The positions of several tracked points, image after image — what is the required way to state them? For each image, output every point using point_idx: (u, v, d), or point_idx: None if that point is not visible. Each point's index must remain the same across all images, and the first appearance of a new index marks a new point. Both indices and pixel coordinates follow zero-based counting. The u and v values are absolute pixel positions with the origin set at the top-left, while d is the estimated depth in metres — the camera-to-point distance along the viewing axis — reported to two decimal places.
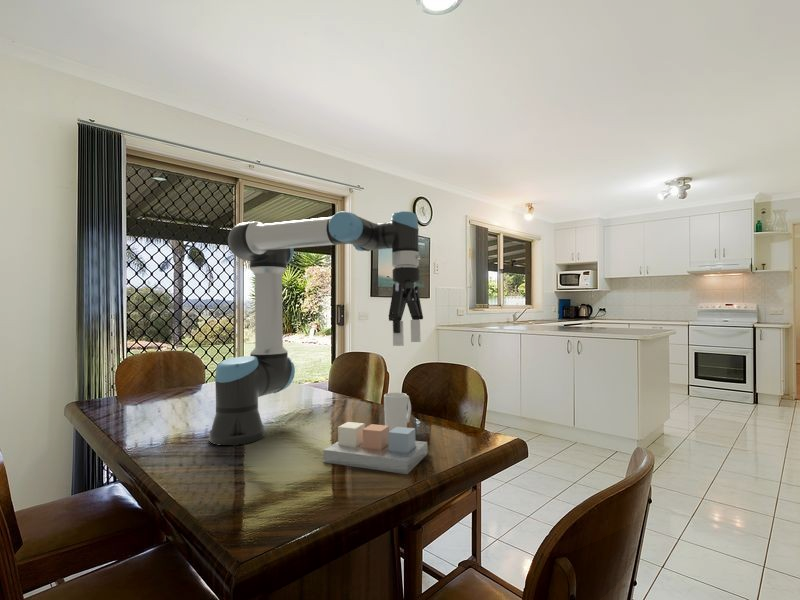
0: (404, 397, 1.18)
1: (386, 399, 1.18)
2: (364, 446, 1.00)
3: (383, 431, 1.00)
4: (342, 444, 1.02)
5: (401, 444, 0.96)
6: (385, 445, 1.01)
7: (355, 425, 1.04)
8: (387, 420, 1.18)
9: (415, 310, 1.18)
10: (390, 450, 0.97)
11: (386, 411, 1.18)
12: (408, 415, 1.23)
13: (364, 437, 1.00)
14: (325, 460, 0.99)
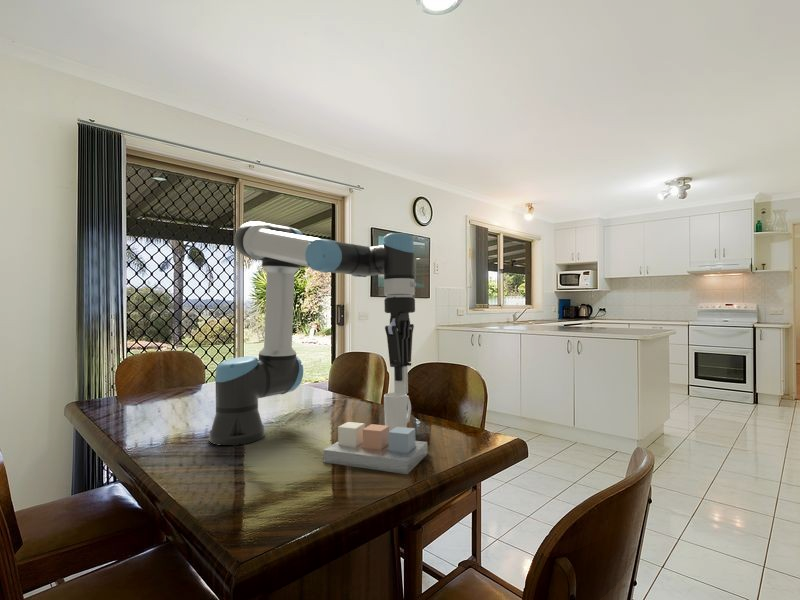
0: (404, 397, 1.18)
1: (386, 399, 1.18)
2: (364, 446, 1.00)
3: (383, 431, 1.00)
4: (342, 444, 1.02)
5: (401, 444, 0.96)
6: (385, 445, 1.01)
7: (355, 425, 1.04)
8: (387, 420, 1.18)
9: (404, 350, 1.00)
10: (390, 450, 0.97)
11: (386, 411, 1.18)
12: (408, 415, 1.23)
13: (364, 437, 1.00)
14: (325, 460, 0.99)
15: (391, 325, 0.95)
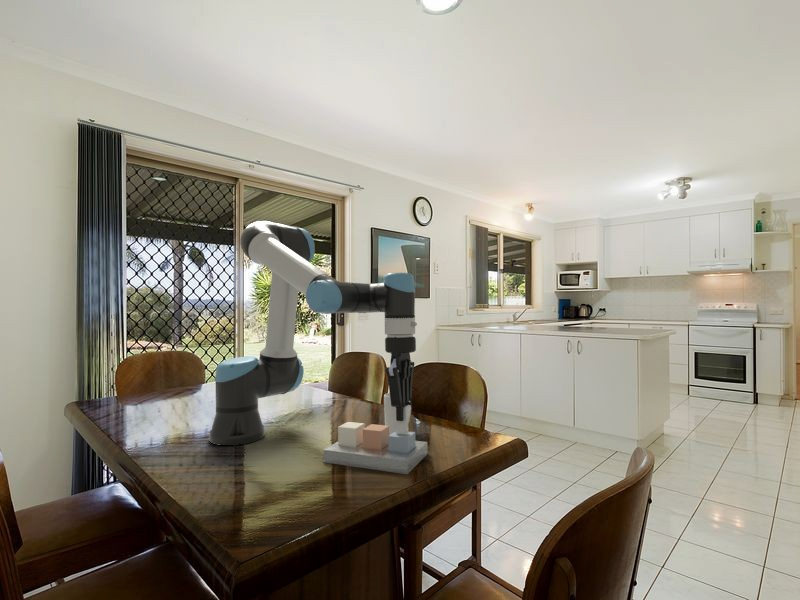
0: None
1: (386, 399, 1.18)
2: (364, 446, 1.00)
3: (383, 431, 1.00)
4: (342, 444, 1.02)
5: (401, 448, 0.96)
6: (385, 445, 1.01)
7: (355, 425, 1.04)
8: (387, 420, 1.18)
9: (405, 389, 1.00)
10: None
11: (386, 411, 1.18)
12: (408, 415, 1.23)
13: (364, 437, 1.00)
14: (325, 460, 0.99)
15: (392, 367, 0.94)
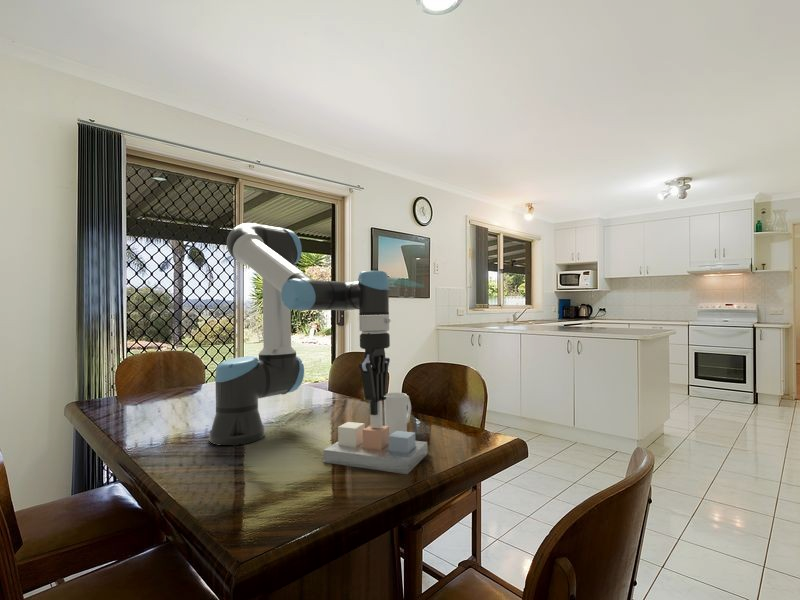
0: (404, 397, 1.18)
1: (386, 399, 1.18)
2: (364, 446, 1.00)
3: (383, 431, 1.00)
4: (342, 444, 1.02)
5: (401, 449, 0.96)
6: (385, 445, 1.01)
7: (355, 425, 1.04)
8: (387, 420, 1.18)
9: (379, 384, 1.02)
10: None
11: (386, 411, 1.18)
12: (408, 415, 1.23)
13: (364, 438, 1.00)
14: (325, 460, 0.99)
15: (365, 362, 0.97)
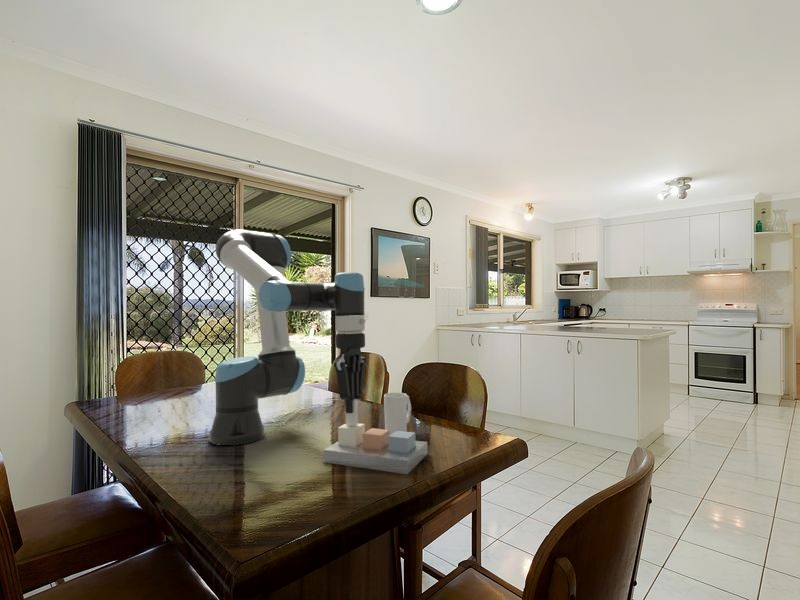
0: (404, 397, 1.18)
1: (386, 399, 1.18)
2: None
3: (383, 435, 1.00)
4: (342, 445, 1.02)
5: (401, 449, 0.96)
6: None
7: (355, 426, 1.04)
8: (387, 420, 1.18)
9: (354, 383, 1.05)
10: None
11: (386, 411, 1.18)
12: (408, 415, 1.23)
13: (364, 441, 1.00)
14: (325, 460, 0.99)
15: (340, 362, 1.00)
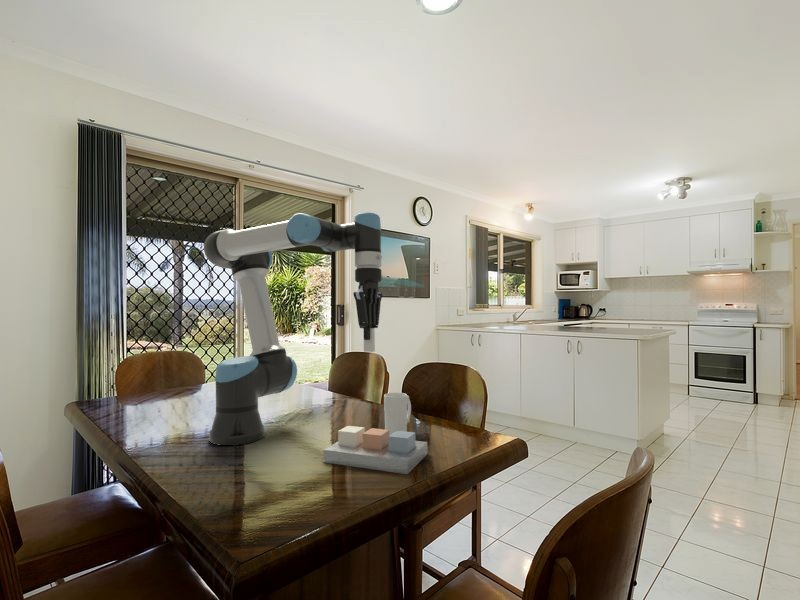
0: (404, 397, 1.18)
1: (386, 399, 1.18)
2: None
3: (383, 435, 1.00)
4: None
5: (401, 449, 0.96)
6: None
7: (355, 429, 1.04)
8: (387, 420, 1.18)
9: (372, 314, 1.16)
10: None
11: (386, 411, 1.18)
12: (408, 415, 1.23)
13: (364, 441, 1.00)
14: (325, 460, 0.99)
15: (359, 291, 1.10)
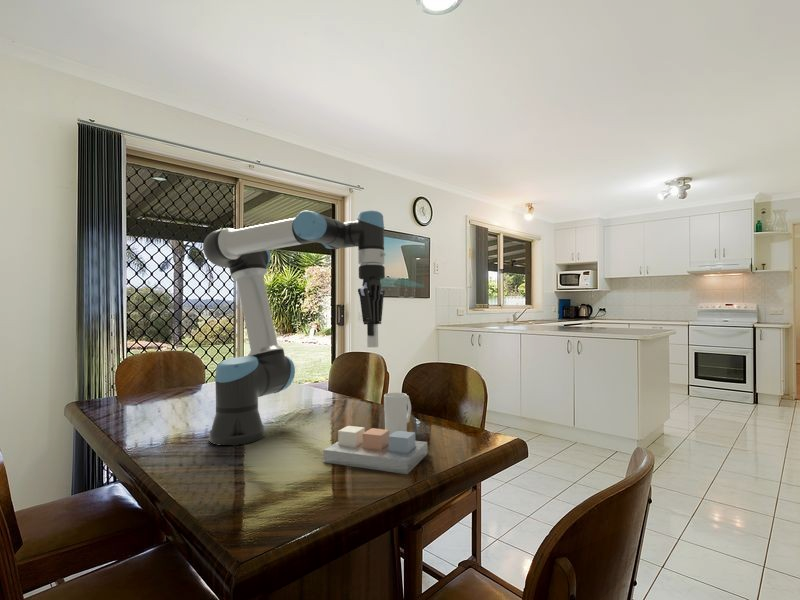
0: (404, 397, 1.18)
1: (386, 399, 1.18)
2: None
3: (383, 435, 1.00)
4: None
5: (401, 449, 0.96)
6: None
7: (355, 429, 1.04)
8: (387, 420, 1.18)
9: (375, 310, 1.18)
10: None
11: (386, 411, 1.18)
12: (408, 415, 1.23)
13: (364, 441, 1.00)
14: (325, 460, 0.99)
15: (363, 288, 1.12)
